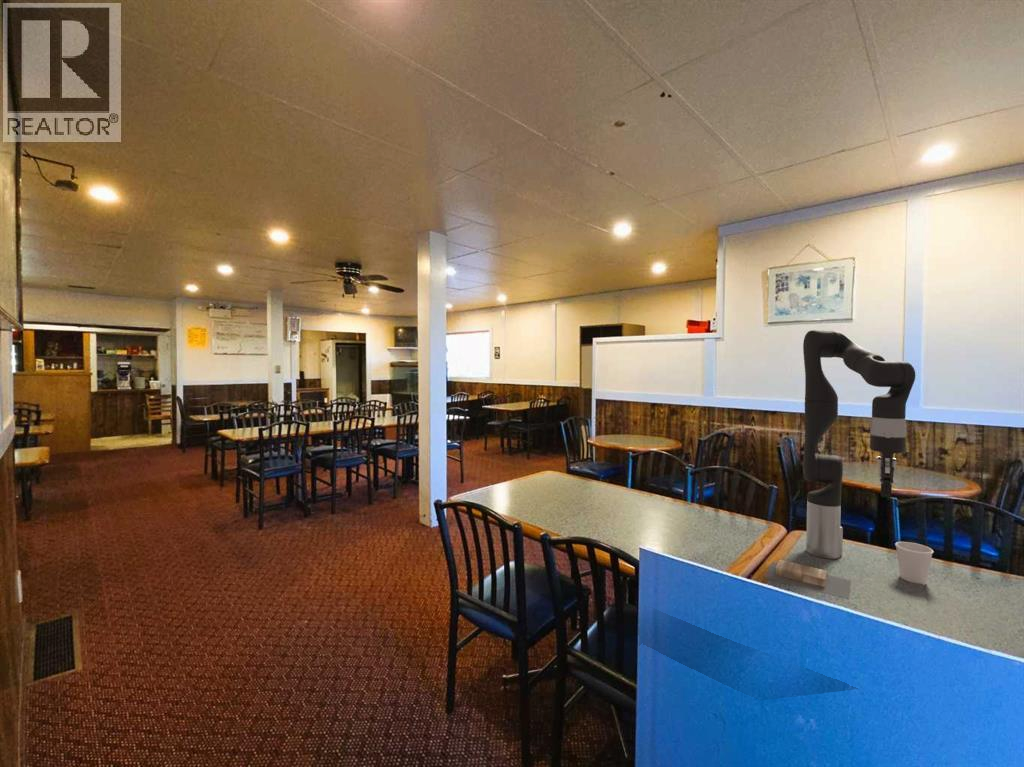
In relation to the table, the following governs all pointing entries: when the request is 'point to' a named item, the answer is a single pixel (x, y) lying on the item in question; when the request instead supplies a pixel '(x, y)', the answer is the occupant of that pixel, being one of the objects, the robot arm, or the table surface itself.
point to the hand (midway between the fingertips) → (885, 496)
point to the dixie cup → (914, 561)
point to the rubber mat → (832, 585)
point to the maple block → (801, 573)
